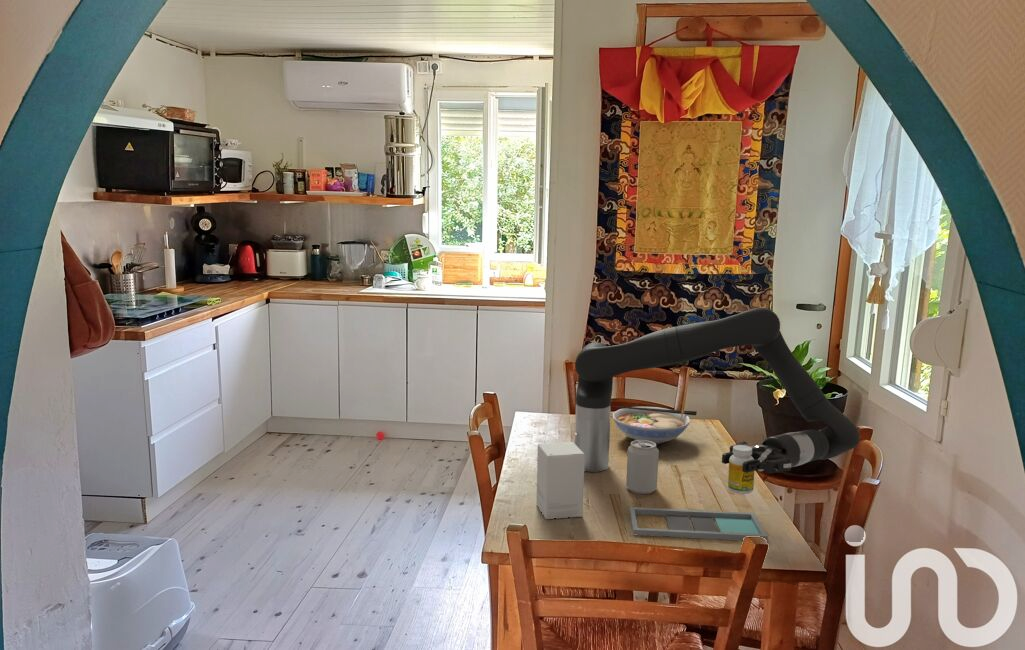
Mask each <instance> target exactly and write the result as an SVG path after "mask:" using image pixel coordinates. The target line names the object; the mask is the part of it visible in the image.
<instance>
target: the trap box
mask: <svg viewBox="0 0 1025 650" xmlns="http://www.w3.org/2000/svg"><path fill="white" fill-rule="evenodd" d="M628 510H629V518H630V523H631V524H632V525H631V530H632V535H633V534H637V535H636V536H641V535H655V536H654V537H662V536H674V537H673V538H683V537H686V539H690V538H691V539H703V538H704V539H708V540H725V541H726V540H727V541H744V540H743V538H744V537H746V536H760V537H763V538H765V539H766V540H767V541H768V540H769V539H768V538H769V535H768V533H766V531H765V529H764V528H763V526H762V524H761V522H760V520H759V518H758V517H757V515H756V513H755V512H747V511H746V512H742V511H722V510H721V511H720V510H701V509H699V510H698V509H677V508H675V509H674V508H654V507H638V506H637V507H636V506H634V507H633V506H632V507H631V506H629V509H628ZM636 515H646V516H664V517H665V520H666V524H667V527H668V529H666V528H664V529H663V528H648V527H647V528H646V527H645V528H643V527H639V526H638V522H637V516H636ZM688 516H690V517H688ZM693 529H694V530H693Z"/></svg>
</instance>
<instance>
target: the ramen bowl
mask: <svg viewBox="0 0 1025 650" xmlns="http://www.w3.org/2000/svg"><path fill="white" fill-rule="evenodd" d="M612 408H620V409H618V410H616V411H614V412H612V418H613V421H614V423H615V424H616V426H617V428H618V429H619V430H620V431H621V433H623V434H625V436H627V437H628V438H630V439H632V440H634V441H635V440H647V441H651V442H654V443H655V444H656V445H658V444H660V445H661V444H663V443H665V442H669V441H672V440H674V439H677V438H678V437H679V436H680V435H681V434H682V433H683V432H684V431H685V430H686V429H687V428H688V426H689V425H690V423H691V419H690V416H697V410H679V409H669V408H663V407H656V406H617V405H612ZM688 415H689V416H688Z"/></svg>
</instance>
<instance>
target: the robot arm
mask: <svg viewBox="0 0 1025 650" xmlns="http://www.w3.org/2000/svg"><path fill="white" fill-rule="evenodd" d="M743 346H751V347H753V349H754V350H755V351H756V352H757V354H759V356H761V357H762V359H764V361H765V362H766V363H767V365H768V366H769V367H770V369H771V370H772V372H773V373H774V375H775V376H776V378H777V379H778V381H779V382H780V384H781V385H782V387H783V389H784V391H785V392H786V394H787V395H788V398H789V399H790V400H791V401H792V404H793V405H794V406H795V407H796V409H797V411H798V412H799V413H800V415H801V417H802V418H803V419H804V420H805V421H807V422H809V423H811V422H817V421H819V422H822V423H823V424H824V425H825V426H824V427H823V428H821V429H807V430H806V429H805V430H802V431H801V430H800V431H794V432H793V431H792V432H786V433H782V434H778V435H772V436H768V437H767V438H766V439H765V440H763V442H762V443H761V444H756V445H750V446H749V447H751V448H752V455H751V456H752V457H753V458H754V460H750V461H746V462H744V463H743V469H742V471H743V472H745V473H748V472H752V471H754V472H756V471H758V472H763V471H765V473H766V474H775V473H782V472H790V471H791V468H794V467H798V466H802V465H805V464H807V463H810V462H813V461H817V460H828V459H829V460H830V459H833V458H836V457H838V456H840V455H842V454H844V453H847V452H849V451H851V450H853V449H855V448H856V447H857V446H859V444H860V442H861V435H860V432H859V429H858V428H857V426H856V425H855V424H854V422H853V421H852V420H850V419H849V418H848V417H847V416H846V415H845V414H844V413H843V412H842V411H840V410H839V409H838V408H837V407H835V405H833V404H832V403H831V402H830V401H829V399H828V398H827V395H826V394H825V393H824V392H823V390H822V389H821V388H820V387H819V385H818V383H817V382H816V381H815V379H814V378H813V377H812V376H811V374H810V373H809V372H808V371H807V370H806V369H805V368H804V367H803V365H802V364H801V363H800V361H799V360H798V358H796V357H795V355H794V354H793V352H792V351H791V349H790V348H789V347H788V344H787V343H786V341H785V338H784V337H783V335H782V332H781V321H780V318H779V317H778V314H776V313H775V312H774V311H772V310H771V309H769V308H766V307H755V308H751V309H748V310H746V311H742V312H740V313H737V314H734V315H730V316H727V317H724V318H720V319H716V320H715V319H714V320H707V321H699V322H694V323H689V324H683V325H677V326H672V327H668V328H664V329H659V330H657V331H652V332H651V333H647V334H645V335H643V336H641V337H637V338H635V339H633V340H631V341H628V342H624V343H621V344H616V345H608V346H607V345H606V344H604V343H601V342H597V341H596V342H591V343H588V344H586V345H585V346H583V347H582V348H581V350H580V351H579V352H578V354H577V355H576V358H575V363H574V369H575V372H576V373H577V375H578V379H577V380H578V381H577V388H576V394H575V422H574V424H575V425H574V443H575V445H576V446H577V447H578V448H579V449H580V450H581V451H582V452H583V453H584V454H585V462H584V472H589V473H591V472H594V473H595V472H596V473H598V472H604V471H606V470H608V469H609V467H610V465H609V462H610V439H611V437H610V435H611V432H610V431H611V414H612V413H611V410H612V409H611V408H612V394H613V387H614V385H613V383H614V376H616V377H617V376H619V375H622V374H626V373H629V372H633V371H640V370H648V369H654V368H659V367H665V366H672V365H677V364H681V363H686V362H689V361H694V360H697V359H700V358H704V357H705V356H706V357H707V356H708V355H710V354H713V353H715V352H719V351H721V350H724V349H730V348H737V347H743ZM735 445H746V446H748V442H747V441H742V442H739V443H736V444H733V445H730V446H729V452H723V453H722V455H721V463H722V464H724V465H727V464H728V465H729V458H730V456H732V455H733V446H735Z"/></svg>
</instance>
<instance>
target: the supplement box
mask: <svg viewBox="0 0 1025 650" xmlns="http://www.w3.org/2000/svg"><path fill="white" fill-rule="evenodd" d="M536 460H537V461H536V464H537V465H536V504H537V505H536V506H537V508H538V507H539V508H538V509H539V511H540V513H541V512H542V513H541V514H542V516H543V515H544V516H543V517H544V519H545V520H554V518H556V519H567V518H568V517H570V518H583V516H584V513H583V511H584V509H583V508H584V487H585V485H584V484H585V483H584V482H585V471H584V462H585V454H584V453H583V452H582V451H581V450H580V449H579V448H578V447H577V446H576V445H575V441H563V442H550V443H549V442H546V443H545V442H544V443H538V444H537V458H536Z"/></svg>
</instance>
